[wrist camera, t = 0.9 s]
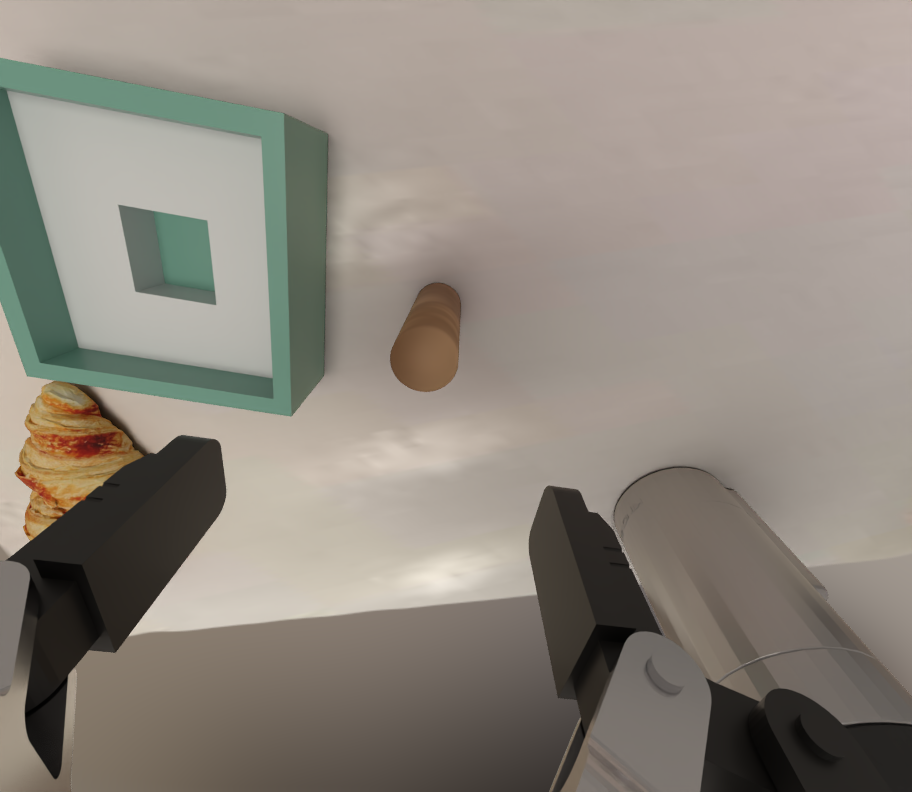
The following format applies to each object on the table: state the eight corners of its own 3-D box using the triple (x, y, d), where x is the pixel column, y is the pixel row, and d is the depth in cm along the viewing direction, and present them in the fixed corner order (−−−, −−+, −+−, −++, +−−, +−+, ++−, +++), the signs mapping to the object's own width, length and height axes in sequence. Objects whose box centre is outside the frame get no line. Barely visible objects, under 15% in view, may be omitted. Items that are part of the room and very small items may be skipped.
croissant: (76, 357, 32) (-74, 394, 26) (138, 378, 28) (-25, 429, 22) (163, 547, 41) (68, 608, 35) (221, 586, 37) (123, 664, 31)
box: (328, 134, 22) (283, 113, 17) (323, 375, 29) (291, 416, 23) (48, 79, 21) (-93, 39, 16) (111, 341, 28) (27, 376, 22)
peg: (464, 287, 26) (463, 334, 17) (456, 330, 27) (452, 396, 18) (418, 279, 25) (393, 322, 17) (413, 323, 27) (387, 386, 18)
